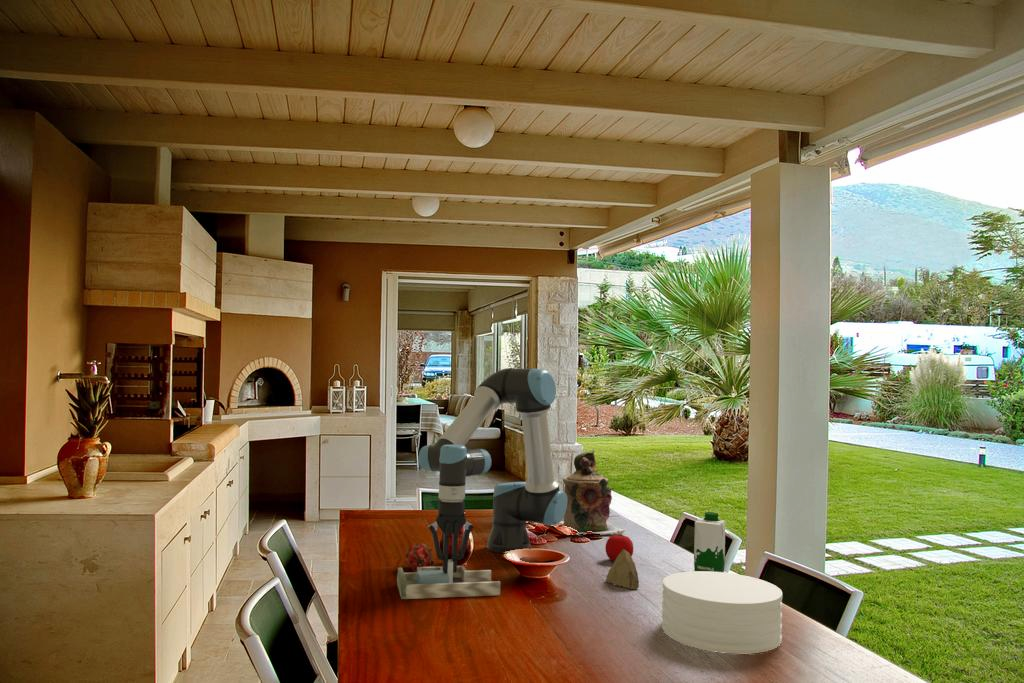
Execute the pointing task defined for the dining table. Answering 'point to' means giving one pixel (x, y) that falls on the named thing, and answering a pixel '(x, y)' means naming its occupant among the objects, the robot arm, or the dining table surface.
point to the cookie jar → (588, 498)
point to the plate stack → (722, 611)
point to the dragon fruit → (419, 556)
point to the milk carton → (709, 543)
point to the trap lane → (448, 584)
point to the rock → (623, 571)
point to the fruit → (618, 546)
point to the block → (432, 577)
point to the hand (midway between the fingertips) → (449, 584)
